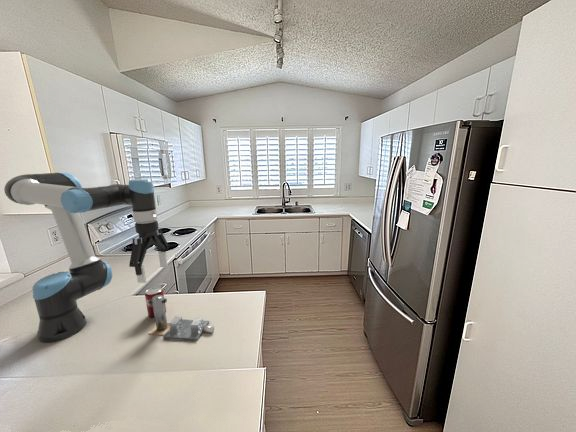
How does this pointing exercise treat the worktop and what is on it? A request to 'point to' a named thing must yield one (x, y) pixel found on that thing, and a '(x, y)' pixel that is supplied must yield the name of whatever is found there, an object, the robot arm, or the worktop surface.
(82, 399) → the worktop surface
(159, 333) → the cork mat
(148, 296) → the soda can
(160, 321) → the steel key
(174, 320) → the block
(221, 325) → the worktop surface
